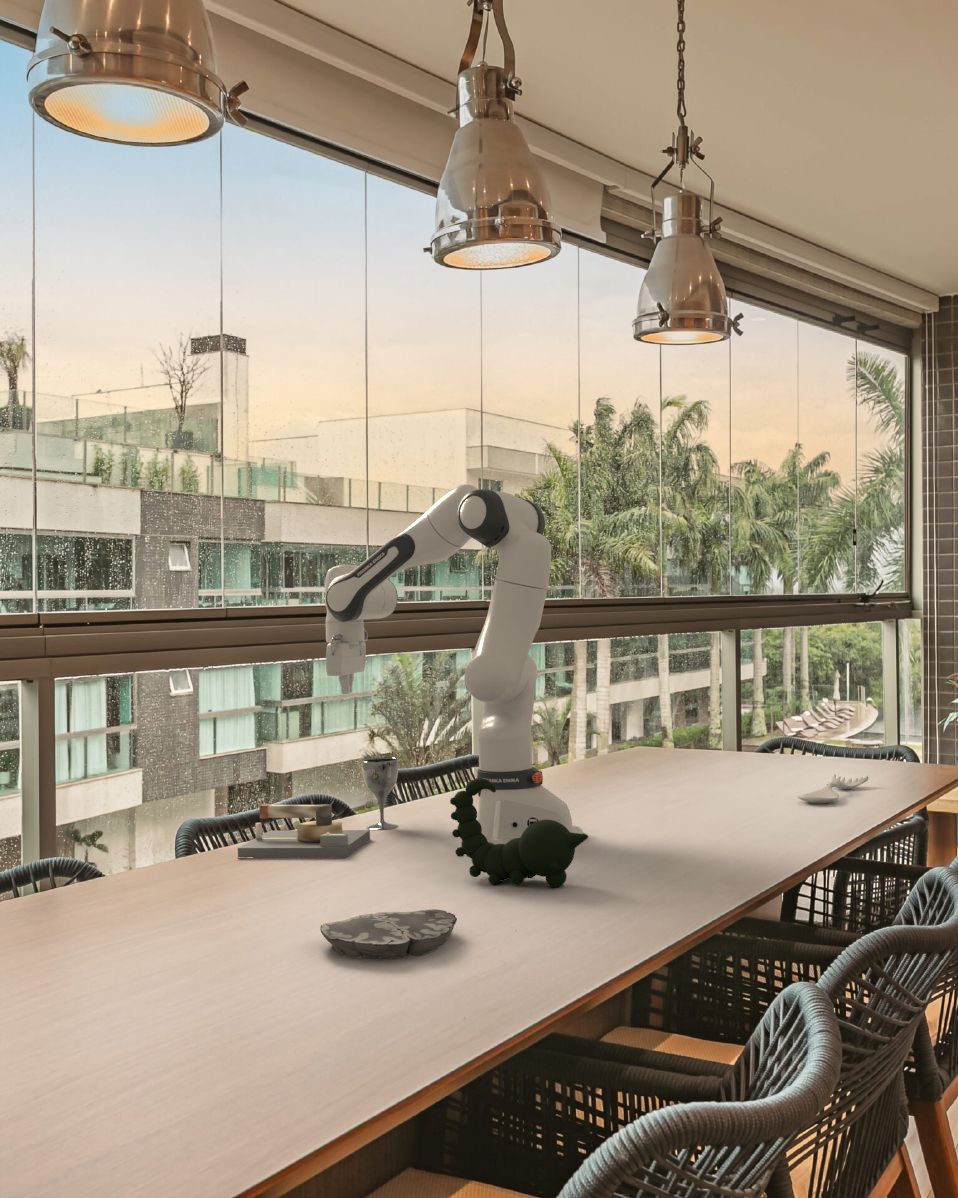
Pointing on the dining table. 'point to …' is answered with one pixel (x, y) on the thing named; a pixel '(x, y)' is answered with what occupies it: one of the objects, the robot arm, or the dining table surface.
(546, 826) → the toy figurine
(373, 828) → the wine glass
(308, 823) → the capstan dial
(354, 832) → the stand
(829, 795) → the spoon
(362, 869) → the dining table surface
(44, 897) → the dining table surface
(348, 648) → the robot arm
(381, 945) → the brain slice
